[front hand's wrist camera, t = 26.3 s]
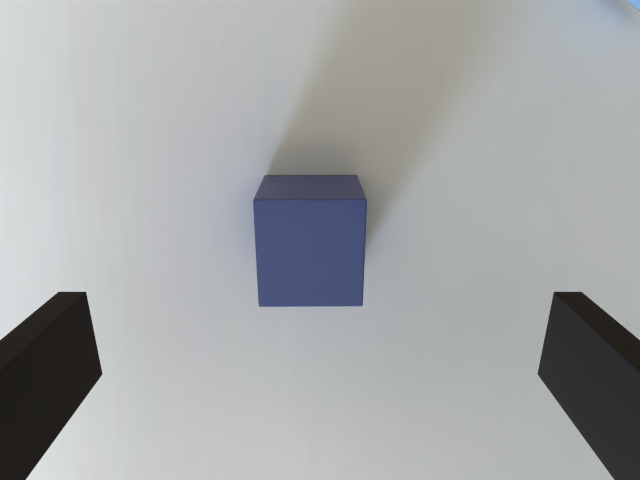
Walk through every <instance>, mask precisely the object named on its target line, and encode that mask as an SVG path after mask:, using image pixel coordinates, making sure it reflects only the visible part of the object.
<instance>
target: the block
mask: <svg viewBox="0 0 640 480" xmlns="http://www.w3.org/2000/svg"><path fill="white" fill-rule="evenodd" d="M253 205H254V224H255V243H256V262H257V281H258V300H259V306H260V307H285V306H362V305H363V284H364V259H365V234H366V210H367V200H366V197H365V195H364V192H363V190H362V187H361V185H360V182H359V180H358V177H357V176H356V175H266V176H264V178H263V180H262V183H261V185H260V187H259V189H258V191H257V193H256V196H255V198H254V200H253Z"/></svg>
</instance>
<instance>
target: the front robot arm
mask: <svg viewBox="0 0 640 480" xmlns="http://www.w3.org/2000/svg"><path fill="white" fill-rule="evenodd" d="M101 375H102V370H101V365H100V360H99V355H98V350H97V345H96V340H95V335H94V330H93V325H92V320H91V315H90V310H89V305H88V300H87V295H86V292H58V293H57V294H56V295H54V296H53V297H52V298H51V299H50V300H48V301H47V302H46V303H45V304H44V305H42V306H41V307H40V308H39V309H37V310H36V311H35V312H34V313H33V314H31V315H30V316H29V317H28V318H27V319H25V320H24V321H23V322H22V323H21V324H19V325H18V326H17V327H16V328H15V329H13V330H12V331H11V332H10V333H9V334H7V335H6V336H5V337H4V338H3V339H1V340H0V480H26V478H27V477H28V476H29V474H30V473H31V471H32V470H33V469H34V467H35V466H36V465H37V463H38V462H39V460H40V459H41V458H42V456H43V455H44V454H45V452H46V451H47V449H48V448H49V447H50V445H51V444H52V443H53V441H54V440H55V438H56V437H57V436H58V434H59V433H60V432H61V430H62V429H63V428H64V426H65V425H66V423H67V422H68V421H69V419H70V418H71V417H72V415H73V414H74V412H75V411H76V410H77V408H78V407H79V406H80V404H81V403H82V401H83V400H84V399H85V397H86V396H87V395H88V393H89V392H90V390H91V389H92V388H93V386H94V385H95V384H96V382H97V381H98V379H99V378H100V377H101ZM538 375H539V377H540V378H541V379H542V381H543V382H544V384H545V385H546V386H547V388H548V389H549V390H550V392H551V393H552V395H553V396H554V397H555V399H556V400H557V401H558V403H559V404H560V406H561V407H562V408H563V410H564V411H565V412H566V414H567V415H568V417H569V418H570V419H571V421H572V422H573V423H574V425H575V426H576V428H577V429H578V430H579V432H580V433H581V434H582V436H583V437H584V438H585V440H586V441H587V443H588V444H589V445H590V447H591V448H592V449H593V451H594V452H595V454H596V455H597V456H598V458H599V459H600V460H601V462H602V463H603V465H604V466H605V467H606V469H607V470H608V471H609V473H610V474H611V476H612V477H613V478H614V480H640V340H639V339H637V338H636V337H635V336H634V335H633V334H631V333H630V332H629V331H628V330H627V329H625V328H624V327H623V326H622V325H621V324H619V323H618V322H617V321H616V320H615V319H613V318H612V317H611V316H610V315H609V314H607V313H606V312H605V311H604V310H603V309H601V308H600V307H599V306H598V305H596V304H595V303H594V302H593V301H592V300H590V299H589V298H588V297H587V296H586V295H584V294H583V293H582V292H554V295H553V300H552V305H551V310H550V315H549V320H548V325H547V330H546V335H545V340H544V345H543V350H542V355H541V360H540V365H539V370H538Z"/></svg>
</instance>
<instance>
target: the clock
mask: <svg viewBox="0 0 640 480" xmlns="http://www.w3.org/2000/svg"><path fill="white" fill-rule="evenodd" d="M627 1H628V2H629V3H631V4H632V5H633V6H634V7H635V8H637V9H638V10H639V11H640V0H627Z"/></svg>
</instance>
